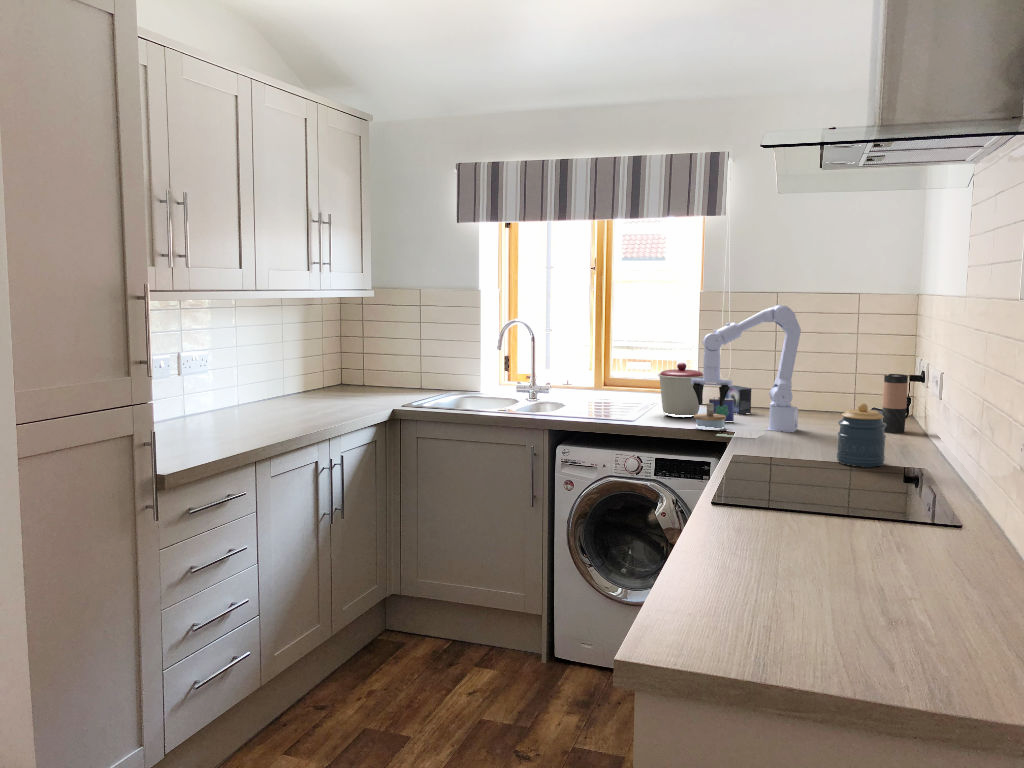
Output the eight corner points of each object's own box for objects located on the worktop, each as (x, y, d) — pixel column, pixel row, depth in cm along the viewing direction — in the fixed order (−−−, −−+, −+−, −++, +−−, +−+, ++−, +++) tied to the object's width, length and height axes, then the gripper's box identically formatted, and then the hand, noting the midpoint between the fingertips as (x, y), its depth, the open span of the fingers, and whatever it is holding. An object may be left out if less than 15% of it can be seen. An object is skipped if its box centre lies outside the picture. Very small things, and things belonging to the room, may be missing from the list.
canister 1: (695, 421, 325) (697, 365, 322) (650, 417, 334) (651, 363, 331) (710, 415, 341) (711, 361, 338) (666, 411, 350) (667, 359, 347)
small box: (721, 411, 350) (721, 385, 348) (734, 410, 352) (734, 385, 351) (738, 415, 340) (739, 388, 339) (751, 414, 343) (752, 388, 341)
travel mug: (907, 434, 298) (910, 376, 296) (883, 433, 300) (886, 376, 297) (902, 430, 306) (905, 374, 303) (879, 429, 307) (882, 373, 305)
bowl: (727, 428, 310) (727, 417, 310) (719, 432, 302) (719, 420, 302) (701, 425, 315) (701, 415, 315) (692, 429, 307) (692, 418, 307)
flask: (732, 421, 324) (733, 393, 323) (734, 423, 321) (735, 394, 320) (708, 421, 325) (708, 393, 323) (709, 423, 322) (710, 394, 320)
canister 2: (827, 462, 252) (830, 403, 250) (850, 456, 260) (853, 399, 258) (870, 470, 242) (873, 408, 240) (892, 463, 250) (896, 403, 248)
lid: (732, 418, 307) (732, 404, 306) (712, 421, 300) (712, 406, 300) (707, 414, 316) (708, 400, 315) (687, 417, 309) (688, 403, 308)
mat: (767, 433, 299) (767, 432, 299) (756, 440, 288) (756, 439, 288) (727, 430, 307) (727, 429, 307) (715, 436, 295) (715, 435, 295)
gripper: (735, 367, 306) (734, 405, 307) (695, 365, 313) (694, 402, 315) (729, 369, 300) (728, 407, 301) (689, 367, 307) (688, 404, 309)
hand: (710, 405), depth 308 cm, fingers open, 7 cm apart
